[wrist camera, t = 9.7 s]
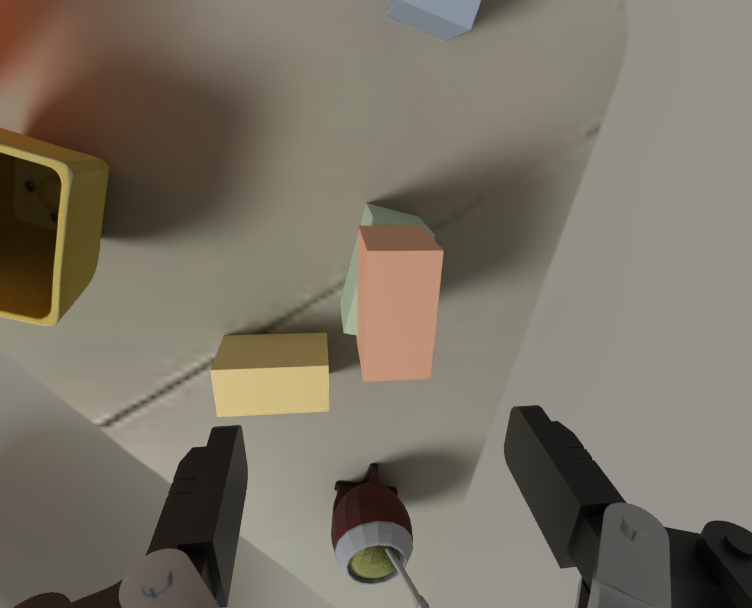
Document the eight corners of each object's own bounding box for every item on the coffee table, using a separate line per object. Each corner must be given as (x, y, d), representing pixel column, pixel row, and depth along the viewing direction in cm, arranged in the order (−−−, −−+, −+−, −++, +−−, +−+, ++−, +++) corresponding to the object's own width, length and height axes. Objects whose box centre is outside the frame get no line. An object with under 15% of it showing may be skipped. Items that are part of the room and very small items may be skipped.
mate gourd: (323, 509, 43) (326, 693, 30) (342, 448, 40) (355, 622, 27) (394, 515, 45) (427, 693, 32) (417, 458, 42) (465, 626, 29)
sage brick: (366, 202, 31) (374, 220, 27) (418, 216, 32) (435, 235, 28) (339, 302, 34) (343, 332, 30) (388, 312, 35) (399, 343, 31)
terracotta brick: (358, 225, 27) (367, 251, 22) (422, 225, 27) (443, 250, 23) (356, 339, 30) (363, 381, 26) (413, 337, 31) (430, 378, 26)
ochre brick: (229, 377, 36) (217, 416, 31) (224, 334, 34) (210, 370, 30) (327, 373, 37) (329, 411, 32) (326, 331, 35) (328, 365, 31)
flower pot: (-17, 95, 26) (-170, 93, 18) (141, 146, 28) (70, 165, 20) (-18, 234, 29) (-148, 286, 21) (124, 270, 31) (56, 330, 23)
